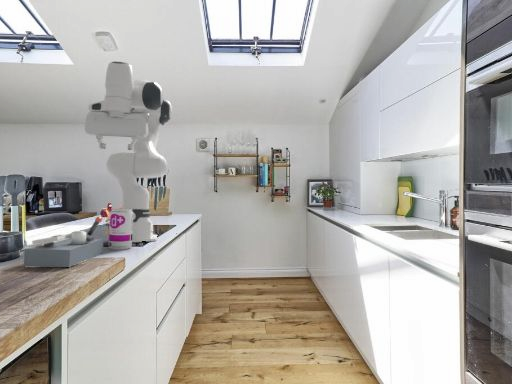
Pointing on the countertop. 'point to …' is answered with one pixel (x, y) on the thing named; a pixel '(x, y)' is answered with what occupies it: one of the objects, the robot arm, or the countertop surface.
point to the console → (62, 253)
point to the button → (78, 237)
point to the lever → (94, 225)
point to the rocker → (48, 239)
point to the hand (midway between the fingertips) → (116, 149)
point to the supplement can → (120, 229)
